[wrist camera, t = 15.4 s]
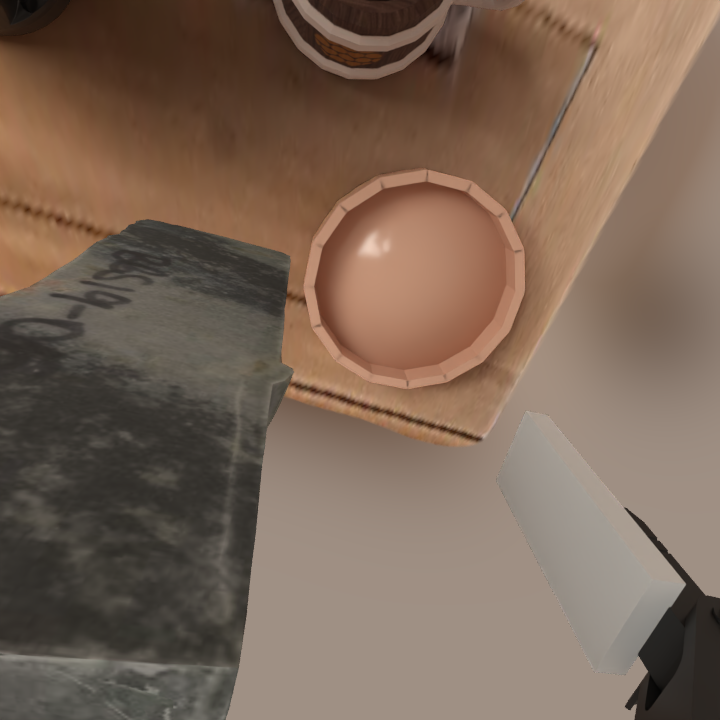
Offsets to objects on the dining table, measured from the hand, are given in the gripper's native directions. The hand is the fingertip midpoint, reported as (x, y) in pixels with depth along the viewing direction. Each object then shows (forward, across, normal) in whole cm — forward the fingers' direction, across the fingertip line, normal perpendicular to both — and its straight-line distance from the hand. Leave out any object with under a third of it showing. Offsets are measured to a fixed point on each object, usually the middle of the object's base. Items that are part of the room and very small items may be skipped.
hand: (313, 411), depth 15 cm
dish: (+39, +11, -4) cm, 40 cm away
